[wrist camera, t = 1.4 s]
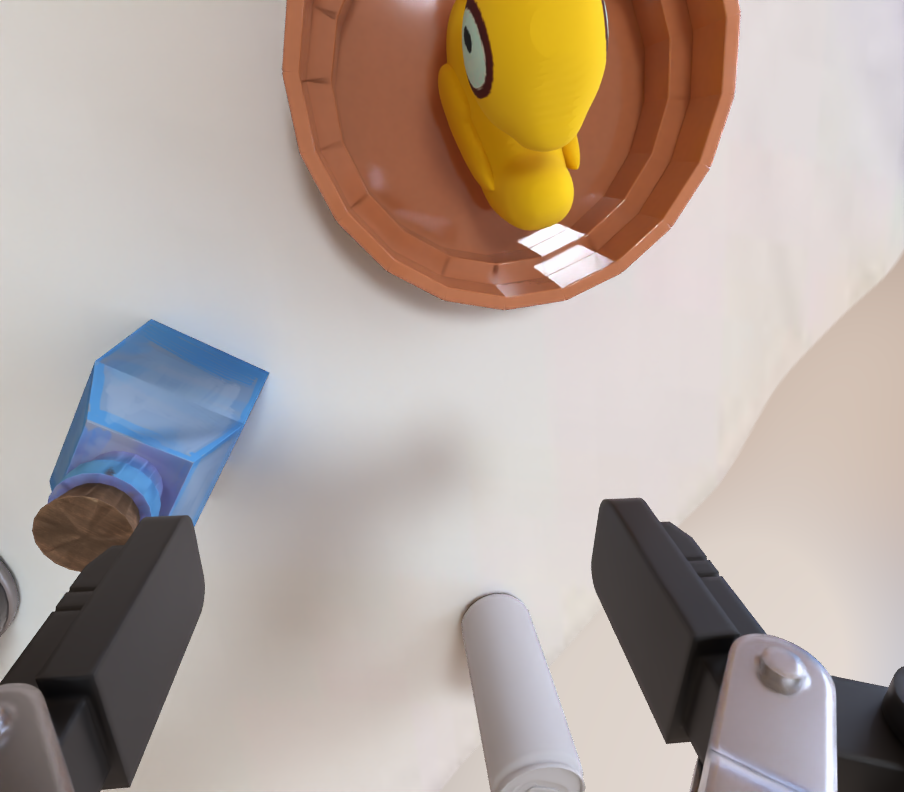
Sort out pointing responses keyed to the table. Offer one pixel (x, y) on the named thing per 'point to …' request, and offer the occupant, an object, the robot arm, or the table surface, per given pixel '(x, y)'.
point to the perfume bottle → (144, 441)
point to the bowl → (447, 175)
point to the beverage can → (517, 701)
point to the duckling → (523, 98)
